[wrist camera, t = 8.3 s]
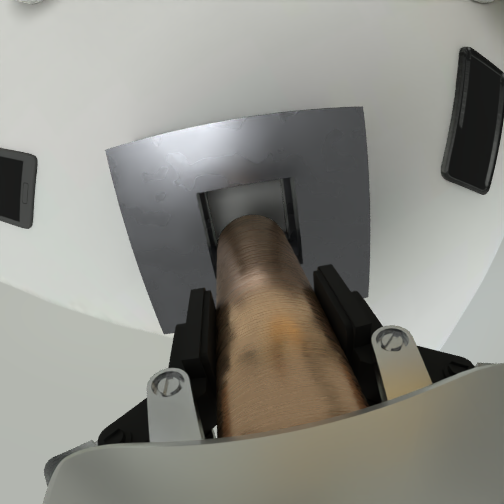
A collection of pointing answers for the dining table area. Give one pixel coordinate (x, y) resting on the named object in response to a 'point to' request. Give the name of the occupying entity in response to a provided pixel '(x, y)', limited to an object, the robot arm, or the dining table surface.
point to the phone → (474, 123)
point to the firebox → (240, 173)
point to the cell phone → (17, 187)
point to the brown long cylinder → (273, 338)
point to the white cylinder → (30, 1)
